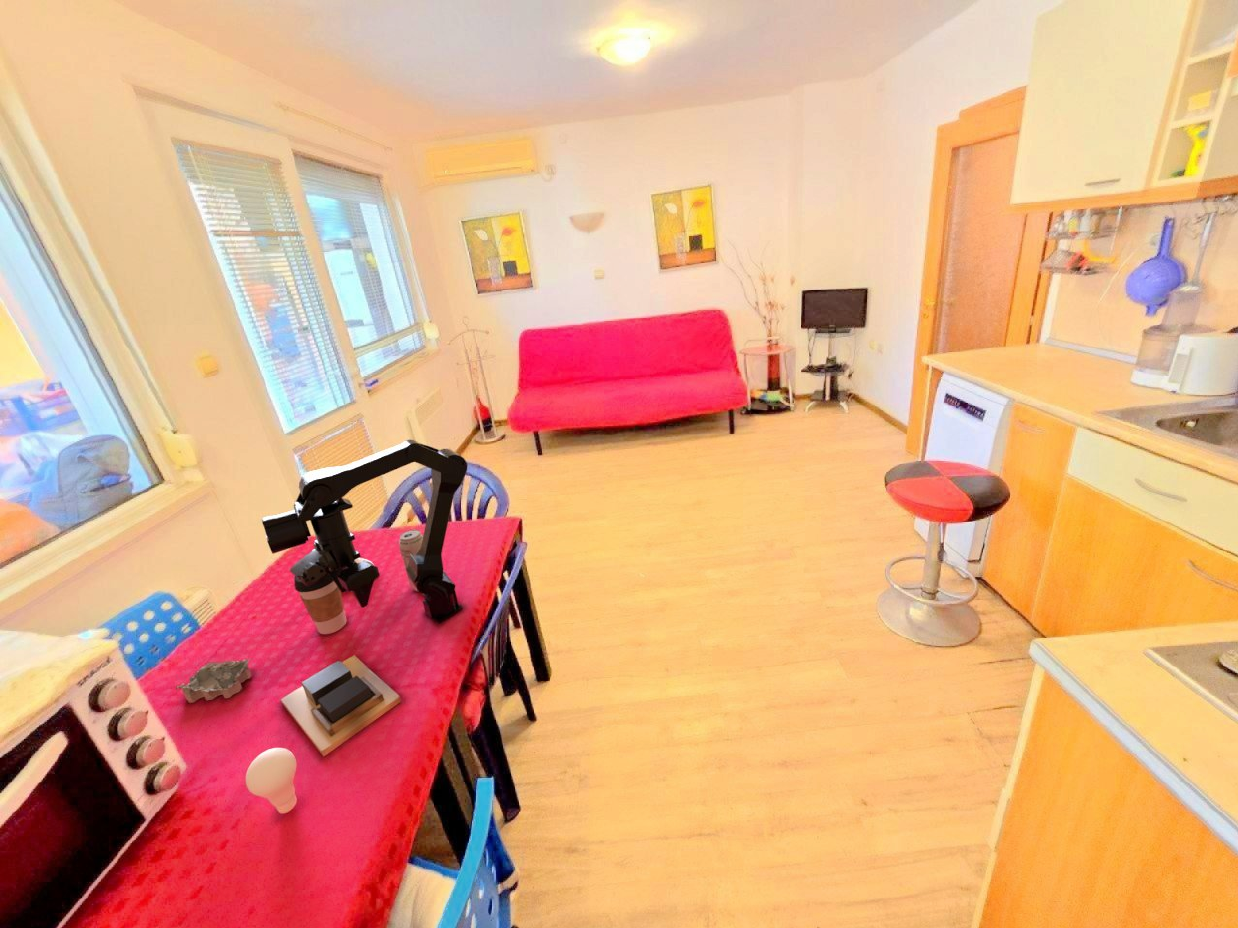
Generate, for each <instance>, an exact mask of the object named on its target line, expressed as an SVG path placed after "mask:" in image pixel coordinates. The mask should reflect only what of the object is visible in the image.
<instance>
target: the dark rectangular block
mask: <svg viewBox="0 0 1238 928" xmlns="http://www.w3.org/2000/svg"><path fill="white" fill-rule="evenodd" d="M371 698H372V694H371V691H370V688H369V686H368V685H366V684H365V683H364V682H363V681H362V680H361V679H360V678H359V677H358V676H355V677H353V678H352V679H350V680H349V681H347V682H345V683H344V684H342V685H341V686H339V687H338V688H336V689H334V690H333V691H331V692H330V693H328V694H327V695H325V696H323V697H322V698H320V699H319V700H318V702H319V704H320V707H321V709H322V712H323V714H324V715H325V716H326V718H327V719H328V720H329V721H330V722H331V723H332V724H334V723H335V722H337V721H338V720H340V719H341V718H343V717H344V716H346V715H347V714H349V713H350V712H351V711H353V710H354V709H356V708H357V707H359V706H360V705H362V704H363V703H365V702H366V701H368V700H369V699H371Z"/></svg>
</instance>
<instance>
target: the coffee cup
mask: <svg viewBox="0 0 1238 928" xmlns="http://www.w3.org/2000/svg"><path fill="white" fill-rule="evenodd" d="M293 580H294V589H295V591H296V592H298V593H299V597H300V599H301V601H302V603H303V606H304V607H305V609H306V611H307V612H308V614H309V616H310V618H311V620H312V621H313V624H314V626H315V627H316V630H317V631H318V633H319V634H321V635H329V634H334V633H336V632H338V631H340V630H341V629H342V628H343V627H345V626H346V624H347V616H346V611H345V607H344V602H343V597H342V592H341V591H340V590H339V588H338V587H337V585H336V584H335V583H334V581H333V580H332V578H331V577H330V576H329V574H328V573H325V575H323V576H322V577H321V578H320V579H319V580H318V581H316V582H315V583H313V584H312V585H310V586H306V585H305V584H304V583H303V582H301V581H300V580H299V579H298V578H297V577H296V576H295V575H294V578H293Z"/></svg>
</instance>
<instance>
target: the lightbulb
mask: <svg viewBox="0 0 1238 928" xmlns="http://www.w3.org/2000/svg"><path fill="white" fill-rule="evenodd" d="M297 766H298V765H297V759H296V756H295V755H294V753H292V752H291V751H290V750H289V749H287V748H284V747H273V748H269V749H267V750H265V751H263V752H261V753H260V754H258V755H257V756H256V757H255V758H254V759H253V760H252V761H251V763H250V764H249V766H248V767H247V771H246V773H245V785H246V788H247V791H249V792H250V793H251V794H252V795H254V796H257V797H260V798H263V799H264V798H265V799H267V801H268V802H270V804H271V805H272V806H274V807H275V809H276V811H277V812H278V813H279V814H286V813H289V812H291V810H293V809H294V808H295V806H296V805H297V803H298V799H297V795H296V793H295V792H296V788H295V785H294V778H295V775H296V771H297Z"/></svg>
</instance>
